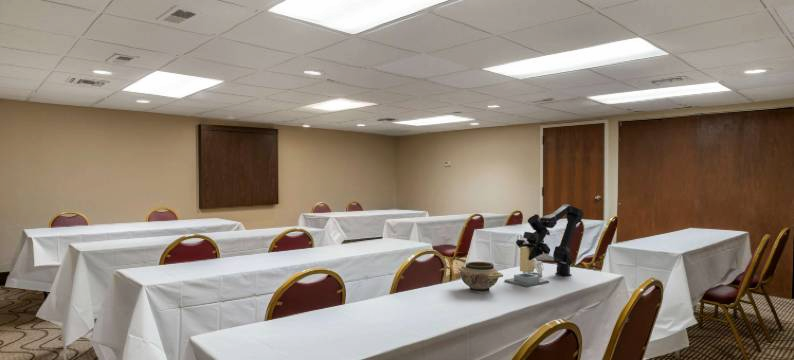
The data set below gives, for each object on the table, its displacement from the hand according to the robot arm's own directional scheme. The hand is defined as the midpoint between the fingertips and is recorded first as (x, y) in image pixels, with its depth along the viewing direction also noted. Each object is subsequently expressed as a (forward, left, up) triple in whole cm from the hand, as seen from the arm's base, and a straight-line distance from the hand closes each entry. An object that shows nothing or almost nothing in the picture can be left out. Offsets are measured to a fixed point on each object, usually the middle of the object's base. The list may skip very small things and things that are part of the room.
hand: (525, 259), depth 236 cm
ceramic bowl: (+31, +7, -12) cm, 34 cm away
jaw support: (-17, -16, -12) cm, 26 cm away
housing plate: (-1, 0, -12) cm, 12 cm away
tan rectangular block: (-1, 0, -7) cm, 7 cm away
